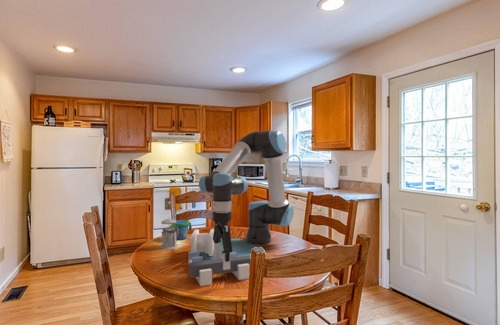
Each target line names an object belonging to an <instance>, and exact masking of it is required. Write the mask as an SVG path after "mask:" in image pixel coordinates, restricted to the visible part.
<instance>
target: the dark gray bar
mask: <svg viewBox="0 0 500 325" xmlns="http://www.w3.org/2000/svg"><path fill="white" fill-rule="evenodd" d="M247 263H248V264H249V265H250V254H249V255H241V256H237V257H232V258H230V269H227V270H223V259H221V258H220V259H209V260H208V259H207V260H203V261H200V262H193V263H189V262H188V265H189V266H188V269H189V270H188V272H189V274H188V275H189V277H190V278H191V279H193V278H196V277H199V270H203V269H210V268H211V269H212V276H214V275H220V274H227V273H228V274H229V273H232V272H235V271H237V265H239V264H247Z"/></svg>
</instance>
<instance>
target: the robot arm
mask: <svg viewBox="0 0 500 325" xmlns="http://www.w3.org/2000/svg"><path fill="white" fill-rule="evenodd" d="M286 149H287V142H286V138H285V136H284V133H282V132H281V130H273V129H271V130H261V131H253V132H249V133H247V134H246V135H244V136H243V137H241V138H240V139H239V140H238V141H237V142H236V143H235V144H234V148H233V149H232V150H231V151H230V152H229V153H228V154H227V156H226V157H225V158H224V159H223V160H222V161H221V162H220V163H219V165H217V167H215V169H214V170H213V171H212V172H211V173H210V174H209V175H204V176H201V177H200V178H199V181H198V188H199V190H200V191H201V192H203V193H207V194H212V203H211V206H212V211H213V212H212V222H213V223H214V225H213V226H214V228H213V229H214V233H213V240H214V251H213V260H216V259H221V248H223V249H224V251H223V252H222V253H223V270H227V269H230V253H231V252H234V251H233V246H232V245H233V244H232V238H231V226H230V225H228V223H229V222H231V221H232V212H231V211H232V209H233V208H232V206H233V205H232V204H233V203H232V202H233V201H232V196H234V195H242V194H243V193H246V192H247V190H248V187H249V182H248V181H247V179H246V178H245V177H244V176H232V174H233V173H234V172H235V171H236V169H237V168H239V166H240V164H242V162H243V161H244V160H245V159H246V158H249V157H250V156H251V155H252V154H260V156H261V158H262V159H263V160H264V164H265V165H264V166H265V171H266V178H267V179H266V180H267V186H268V194H269V201H268V200H257V201H251V202H250V203H249V204H248V209H247V211H248V228H247V232H246V234H245V241H247V243H248V242H249V244H254V245H256V244H257V245H264V244H269V243H271V242H272V235H271V232H270V229H269V225H271V226H272V225H274V226H280V227H283V226H284V227H289V225H291V223H292V221H293V218H294V214H295V212H294V211H295V210H294V207H293V205H291V204H290V201H289V199H287V198H286V190H285V184H284V176H283V167H282V159H281V158H282V157H283V155H284V152H286ZM221 246H222V247H221Z"/></svg>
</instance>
